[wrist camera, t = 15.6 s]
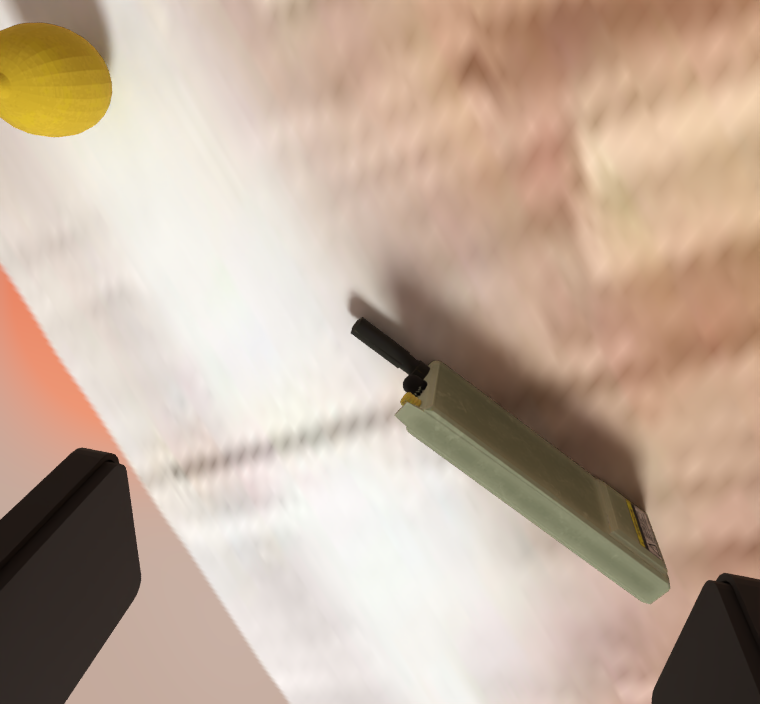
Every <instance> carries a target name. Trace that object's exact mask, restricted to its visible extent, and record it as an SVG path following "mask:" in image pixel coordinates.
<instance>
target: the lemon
mask: <svg viewBox="0 0 760 704" xmlns="http://www.w3.org/2000/svg"><path fill="white" fill-rule="evenodd" d="M111 96H112V82H111V78H110V74H109V70H108V68H107V66H106V64H105V62H104V60H103V58H102V57H101V56H100V54H99V53H98V52H97V50H96V49H95V48H94V47H93V46H92V45H91V44H90V43H89V42H88V41H86V40H85V39H84V38H83V37H81V36H79V35H78V34H76V33H74V32H72V31H70V30H69V29H66V28H63V27H60V26H56V25H52V24H48V23H23V24H18V25H14V26H12V27H9V28H6V29H4V30H2V31H0V118H2V119H3V120H4V121H6V122H7V123H9V124H10V125H12V126H13V127H15V128H18V129H20V130H22V131H25V132H27V133H30V134H34V135H41V136H48V137H63V136H70V135H76V134H79V133H82V132H84V131H85V130H87V129H89V128H91V127H93V126H94V125H96V124H97V123H98V122H99V121H100V120H101V118H102V117H103V116H104V115H105V113H106V111H107V109H108V107H109V105H110V101H111Z"/></svg>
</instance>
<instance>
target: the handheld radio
mask: <svg viewBox="0 0 760 704" xmlns="http://www.w3.org/2000/svg"><path fill="white" fill-rule="evenodd" d="M351 334H353V335H354V336H355V337H357V338H358V339H359V340H361V341H362V342H363V343H365V344H366V345H367V346H369V347H370V348H371V349H373V350H374V351H375V352H377V353H378V354H379V355H381V356H382V357H383V358H385V359H386V360H388V361H389V362H390V363H392V364H393V365H394V366H396V367H397V368H401V369H402V370H403V371H405V372H406V373H407V374H409V376H408V377H406V378H405V380H404V382H403V388H404V390H405V391H406V392H407V393H406V394H405V395H404V396H403V398H402V399H401V401H400V403H401V405H402V407H401V408H400V409H399V410H398V412H397V413H396V414H395V416H396V417H397V418H398V419H399V420H400V421H401V422H402V423H403V424H405V425H406V426H407V427H406V429H407V431H408V432H409V433H410V434H411V435H413V436H414V437H416V438H417V439H418V440H420V441H421V442H422V443H424V444H425V445H427V446H428V447H429V448H431V449H432V450H433V451H435V452H436V453H438V454H439V455H440V456H442V457H443V458H444V459H446V460H447V461H448V462H450V463H451V464H453V465H454V466H455V467H457V468H458V469H459V470H461V471H462V472H464V473H465V474H466V475H468V476H469V477H470V478H472V479H473V480H475V481H476V482H477V483H479V484H480V485H481V486H483V487H484V488H486V489H487V490H488V491H490V492H491V493H492V494H494V495H495V496H496V497H498V498H499V499H501V500H502V501H503V502H505V503H506V504H507V505H509V506H510V507H512V508H513V509H514V510H516V511H517V512H518V513H520V514H521V515H523V516H524V517H525V518H527V519H528V520H529V521H531V522H532V523H534V524H535V525H536V526H538V527H539V528H540V529H542V530H543V531H545V532H546V533H547V534H549V535H550V536H551V537H553V538H554V539H556V540H557V541H558V542H560V543H561V544H562V545H564V546H565V547H567V548H568V549H569V550H571V551H572V552H573V553H575V554H576V555H578V556H579V557H580V558H582V559H583V560H585V561H586V562H587V563H589V564H590V565H591V566H593V567H594V568H596V569H597V570H598V571H600V572H601V573H602V574H604V575H605V576H607V577H608V578H609V579H611V580H612V581H613V582H615V583H616V584H618V585H619V586H620V587H622V588H623V589H624V590H626V591H627V592H629V593H630V594H631V595H633V596H634V597H635V598H637V599H638V600H640V601H641V602H643V603H647V604H651V603H653V602H654V601H655V600H657V599H658V598H660V597H661V596H662V595H664V594H665V593H667V592H668V591H669V589H670V583H669V577H668V575H667V568H666V565H665V562H664V559H663V556H662V554H661V551H660V548H659V546H658V543H657V540H656V537H655V535H654V532H653V529H652V526H651V524H650V521H649V518H648V516H647V514H646V513H645V512H643V511H642V510H641V509H639V508H638V507H637V506H635V505H634V504H633V503H631V502H630V501H629V500H627V499H626V498H625V497H623V496H622V495H621V494H619V493H618V492H617V491H615V490H614V489H613V488H611V487H610V486H609V485H607V484H606V483H605V482H603V481H601V480H600V479H596V478H595V477H593V476H592V475H591V474H589V473H588V472H587V471H586V470H584V469H583V468H582V467H580V466H579V465H578V464H576V463H575V462H574V461H572V460H571V459H570V458H568V457H567V456H566V455H564V454H563V453H562V452H560V451H559V450H558V449H556V448H555V447H554V446H552V445H551V444H550V443H548V442H547V441H546V440H544V439H543V438H542V437H540V436H539V435H538V434H536V433H535V432H534V431H532V430H531V429H530V428H529V427H527V426H526V425H525V424H523V423H522V422H521V421H519V420H518V419H517V418H515V417H514V416H513V415H511V414H510V413H509V412H507V411H506V410H505V409H503V408H502V407H501V406H499V405H498V404H497V403H495V402H494V401H493V400H491V399H490V398H489V397H487V396H486V395H485V394H483V393H482V392H481V391H479V390H478V389H477V388H475V387H474V386H473V385H472V384H470V383H469V382H468V381H466V380H465V379H464V378H462V377H461V376H460V375H458V374H457V373H456V372H454V371H453V370H452V369H450V368H449V367H448V366H446V365H445V364H444V363H442V362H440V361H433V362H431V363H430V364H429V365H428V366H427V365H426V364H424V363H423V362H422V361H418V360H417V359H415V358H414V357H413V356H411V355H410V354H409V352H408V351H407V350H405V349H404V348H403V347H401V346H400V345H399V344H397V343H396V342H395V341H393V340H392V339H391V338H389V337H388V336H387V335H385V334H384V333H383V332H382V331H380V330H379V329H378V328H376V327H375V326H374V325H372V324H371V323H370V322H368V321H367V320H366V319H364V318H363V317H362V318H361V319H359V320H357V321H356V323H355V324H354V325H353V327H352V331H351Z"/></svg>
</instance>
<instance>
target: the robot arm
mask: <svg viewBox="0 0 760 704" xmlns="http://www.w3.org/2000/svg"><path fill="white" fill-rule="evenodd" d="M140 583H141V572H140V564H139V557H138V550H137V542H136V535H135V528H134V521H133V513H132V506H131V499H130V492H129V484H128V478H127V471H126V467H125V466H124V465H122V464H119V460H118V458H117V456H116V455H115V454H112V453H107V452H102V451H97V450H92V449H87V448H78V449H76V450H75V451H73V452H72V453H71V454H70V455H69V456H68V457H67V458H66V459H65V460H63V461H62V462H61V463H60V464H59V465H58V466H57V467H56V468H55V469H54V470H53V471H52V472H51V473H50V474H49V475H48V476H47V477H46V478H44V479H43V480H42V481H41V482H40V483H39V484H38V485H37V486H36V487H35V488H34V489H33V490H32V491H30V492H29V493H28V494H27V495H26V496H25V497H24V498H23V499H22V500H21V501H20V502H19V503H18V504H17V505H16V506H15V507H13V508H12V510H10V511H9V512H8V513H7V514H6V515H5V516H4V517H3V518H2V519H1V520H0V704H64V703H65V702H66V700H67V699H68V697H69V696H70V694H71V693H72V691H73V690H74V688H75V687H76V685H77V684H78V682H79V681H80V679H81V678H82V676H83V675H84V673H85V672H86V670H87V669H88V667H89V666H90V664H91V663H92V661H93V660H94V658H95V657H96V655H97V654H98V652H99V651H100V650H101V648H102V646H103V645H104V643H105V642H106V640H107V639H108V638H109V636H110V635H111V633H112V632H113V630H114V629H115V627H116V626H117V624H118V623H119V621H120V620H121V618H122V617H123V615H124V614H125V612H126V611H127V609H128V608H129V606H130V605H131V603H132V602H133V600H134V598H135V597H136V595H137V593H138V590H139V587H140ZM652 704H760V580H759V579H754V578H749V577H744V576H739V575H733V574H728V573H723V574H721V575H720V576H719V577H718V578H717V580H716V581H712V580H708V581H707V582H706V583H705V584H704V586H703V588H702V590H701V592H700V594H699V596H698V598H697V600H696V602H695V605H694V607H693V609H692V611H691V613H690V615H689V617H688V619H687V621H686V623H685V625H684V627H683V629H682V631H681V634H680V636H679V638H678V640H677V642H676V644H675V646H674V648H673V650H672V652H671V654H670V656H669V658H668V660H667V663H666V665H665V667H664V669H663V671H662V673H661V675H660V677H659V679H658V681H657V683H656V685H655V687H654V690H653V694H652Z"/></svg>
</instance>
